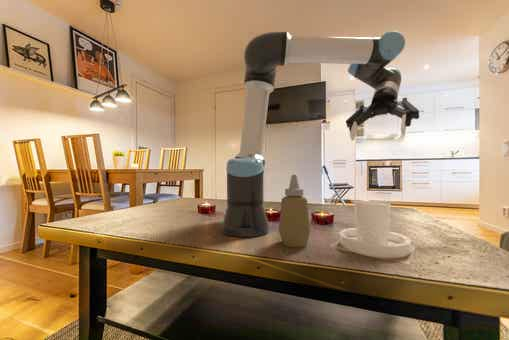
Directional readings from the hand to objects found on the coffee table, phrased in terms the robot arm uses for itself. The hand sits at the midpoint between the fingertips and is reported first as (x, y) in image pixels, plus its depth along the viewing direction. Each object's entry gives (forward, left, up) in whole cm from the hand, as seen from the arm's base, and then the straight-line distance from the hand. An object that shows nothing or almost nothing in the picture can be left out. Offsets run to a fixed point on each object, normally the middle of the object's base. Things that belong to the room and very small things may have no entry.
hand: (375, 134), depth 66 cm
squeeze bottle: (-14, -24, -30) cm, 41 cm away
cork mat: (+2, -14, -30) cm, 33 cm away
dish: (+2, -14, -29) cm, 32 cm away
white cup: (+2, -14, -29) cm, 32 cm away
